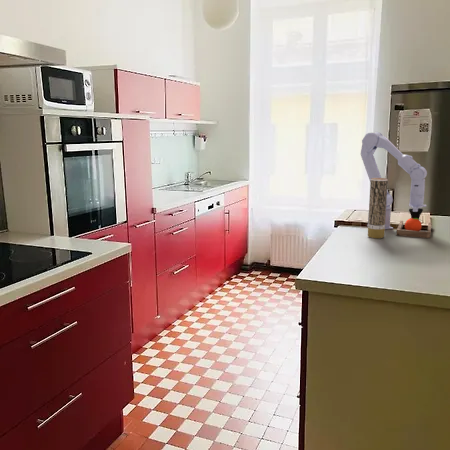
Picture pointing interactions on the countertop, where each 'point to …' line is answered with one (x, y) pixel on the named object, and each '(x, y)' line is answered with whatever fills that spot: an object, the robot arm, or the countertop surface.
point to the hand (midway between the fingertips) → (414, 224)
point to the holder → (413, 232)
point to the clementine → (413, 224)
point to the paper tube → (377, 207)
